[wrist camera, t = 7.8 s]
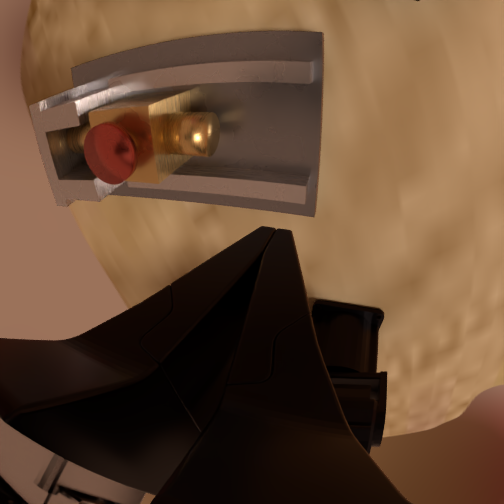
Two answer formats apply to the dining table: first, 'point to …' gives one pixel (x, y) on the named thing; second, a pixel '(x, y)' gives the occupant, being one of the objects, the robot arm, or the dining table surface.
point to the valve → (144, 137)
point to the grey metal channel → (206, 100)
